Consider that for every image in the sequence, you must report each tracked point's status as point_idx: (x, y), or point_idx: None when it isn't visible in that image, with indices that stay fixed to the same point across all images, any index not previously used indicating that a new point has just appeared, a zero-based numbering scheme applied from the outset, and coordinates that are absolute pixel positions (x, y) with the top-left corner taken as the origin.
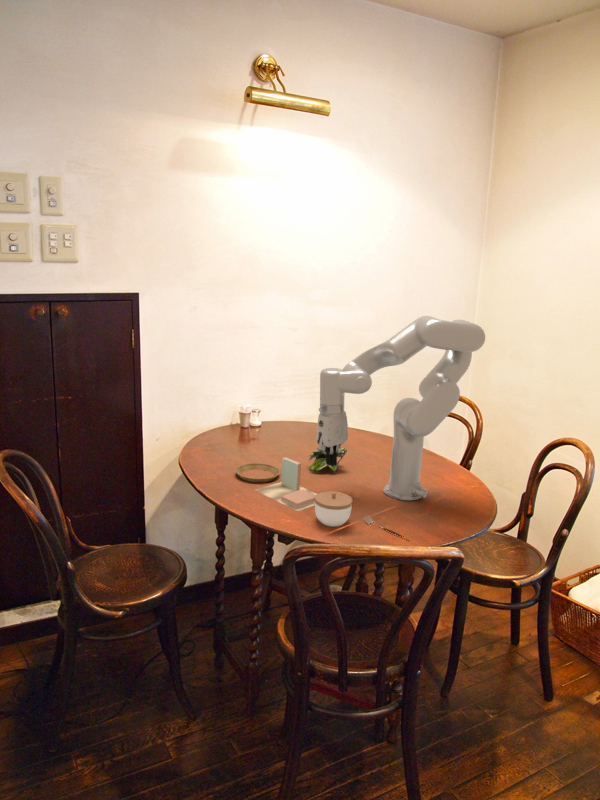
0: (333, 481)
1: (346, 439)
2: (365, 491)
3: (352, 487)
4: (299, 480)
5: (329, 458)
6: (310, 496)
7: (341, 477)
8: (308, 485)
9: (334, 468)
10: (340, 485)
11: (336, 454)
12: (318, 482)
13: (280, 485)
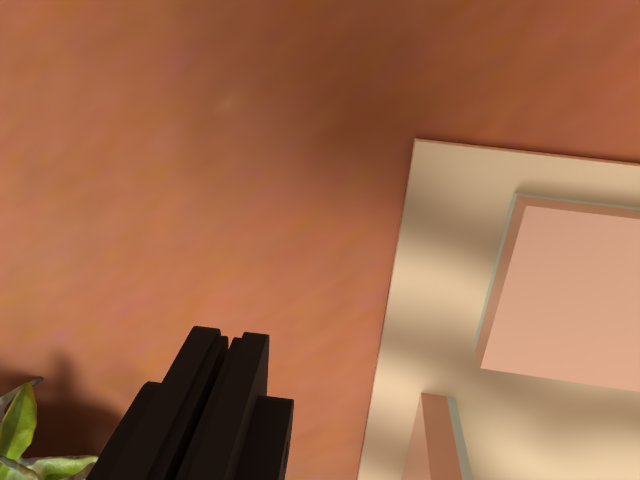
0: (113, 326)
1: None
2: (36, 59)
3: (72, 179)
4: (434, 448)
5: (279, 469)
6: (573, 249)
7: (22, 326)
8: (293, 395)
9: (17, 403)
10: (120, 259)
11: (132, 464)
12: None
13: None
